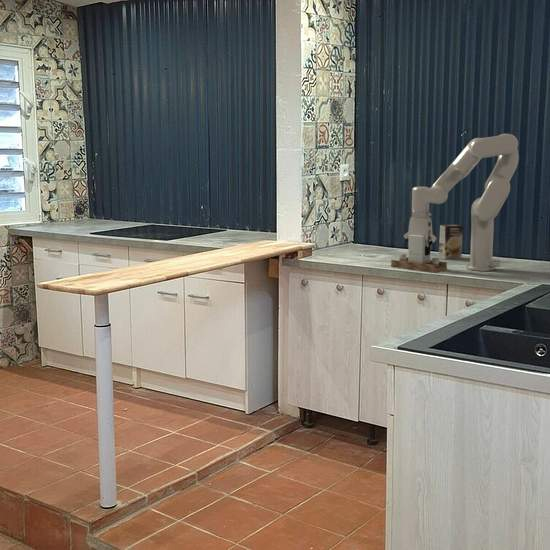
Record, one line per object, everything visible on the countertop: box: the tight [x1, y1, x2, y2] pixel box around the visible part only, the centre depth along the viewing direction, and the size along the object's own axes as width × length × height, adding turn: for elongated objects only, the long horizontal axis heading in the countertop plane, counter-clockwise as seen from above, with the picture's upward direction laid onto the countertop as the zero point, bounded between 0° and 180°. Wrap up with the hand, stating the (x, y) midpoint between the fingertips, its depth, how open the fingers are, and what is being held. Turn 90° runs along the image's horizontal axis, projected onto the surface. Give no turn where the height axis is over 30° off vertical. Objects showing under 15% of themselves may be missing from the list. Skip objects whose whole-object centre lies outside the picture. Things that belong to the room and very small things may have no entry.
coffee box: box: [438, 224, 464, 260], centre depth 377 cm, size 9×6×16 cm
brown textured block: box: [390, 253, 448, 273], centre depth 352 cm, size 22×11×5 cm, turn 48°
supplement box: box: [407, 235, 432, 264], centre depth 351 cm, size 7×7×13 cm
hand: (419, 254), depth 351 cm, fingers closed on supplement box, 7 cm apart
